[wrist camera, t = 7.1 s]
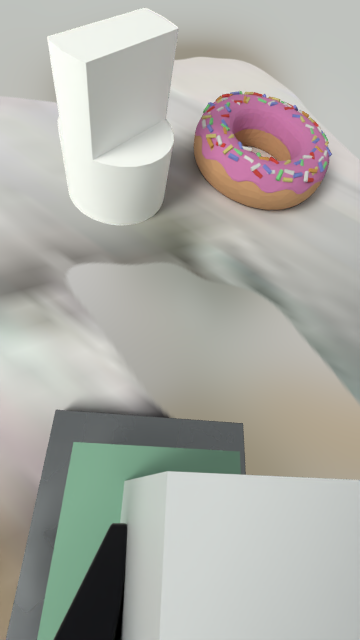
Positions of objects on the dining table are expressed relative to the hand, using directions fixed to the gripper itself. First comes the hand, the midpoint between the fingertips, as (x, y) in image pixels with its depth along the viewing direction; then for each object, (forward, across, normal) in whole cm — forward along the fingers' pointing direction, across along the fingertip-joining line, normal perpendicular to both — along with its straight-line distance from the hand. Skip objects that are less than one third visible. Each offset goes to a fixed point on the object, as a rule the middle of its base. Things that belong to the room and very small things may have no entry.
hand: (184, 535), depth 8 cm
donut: (+32, -9, -14) cm, 36 cm away
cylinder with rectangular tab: (+27, +5, -10) cm, 29 cm away
